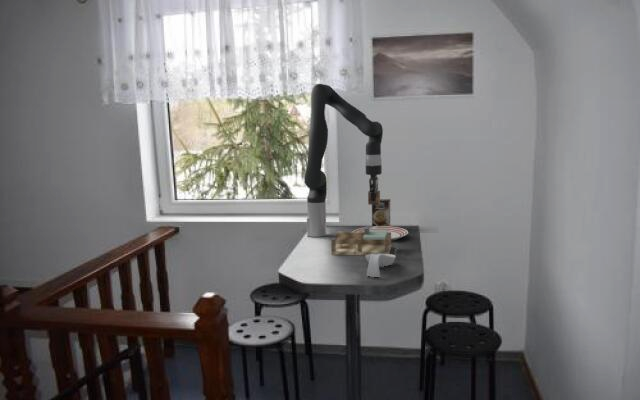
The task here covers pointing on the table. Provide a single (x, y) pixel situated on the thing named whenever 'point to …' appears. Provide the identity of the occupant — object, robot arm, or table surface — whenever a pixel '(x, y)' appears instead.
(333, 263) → the table surface
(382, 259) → the spoon rest
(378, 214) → the coffee box
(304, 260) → the table surface
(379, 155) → the robot arm
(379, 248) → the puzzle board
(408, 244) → the table surface
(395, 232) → the dinner plate
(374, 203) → the walnut block
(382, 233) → the sliding cover
